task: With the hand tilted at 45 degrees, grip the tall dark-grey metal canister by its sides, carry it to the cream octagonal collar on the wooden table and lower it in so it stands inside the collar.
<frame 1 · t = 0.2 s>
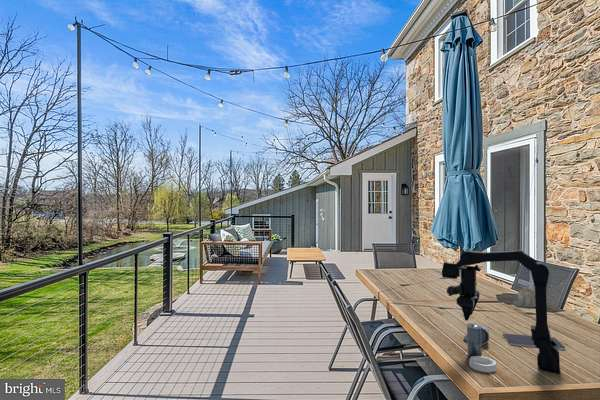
hand: (468, 317, 150), 15 cm above the table, tool pointing down, fingers open, 9 cm apart
ceramic cottage: (525, 304, 226), on the table
ceramic mug: (476, 342, 162), on the table
collar: (482, 367, 136), on the table
notebook: (532, 344, 161), on the table
canister: (474, 357, 144), on the table
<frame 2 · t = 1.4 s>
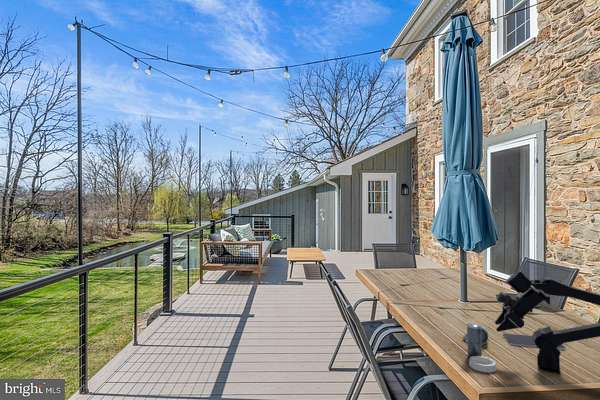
hand: (496, 327, 141), 13 cm above the table, tool tilted 45°, fingers open, 9 cm apart
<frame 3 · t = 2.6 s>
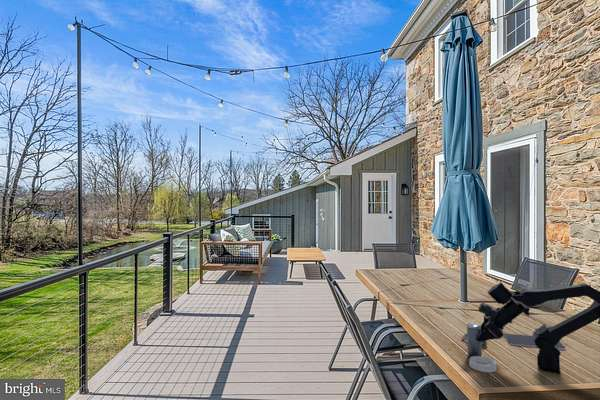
hand: (477, 336, 144), 9 cm above the table, tool tilted 45°, fingers open, 9 cm apart
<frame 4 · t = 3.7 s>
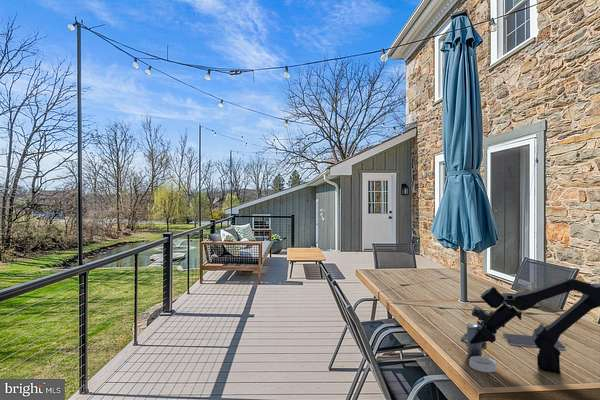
hand: (470, 340, 145), 7 cm above the table, tool tilted 45°, fingers closed on canister, 5 cm apart
canister: (474, 357, 144), on the table, touching gripper
everything else where it was.
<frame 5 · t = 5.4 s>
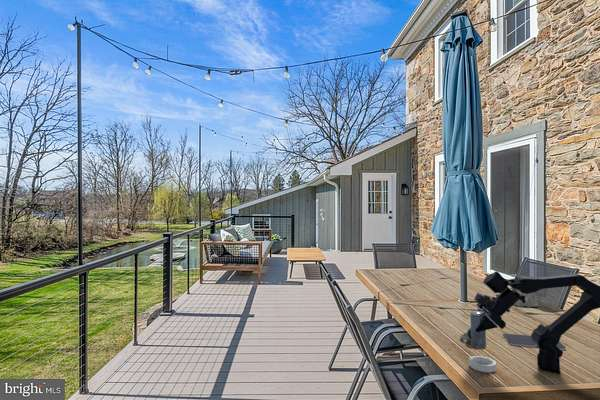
hand: (474, 328, 140), 13 cm above the table, tool tilted 45°, fingers closed on canister, 5 cm apart
canister: (478, 346, 139), point 7 cm above the table, touching gripper
when the fingers open (9 cm above the table, at t = 7.1 s): canister drops 2 cm, resting on collar.
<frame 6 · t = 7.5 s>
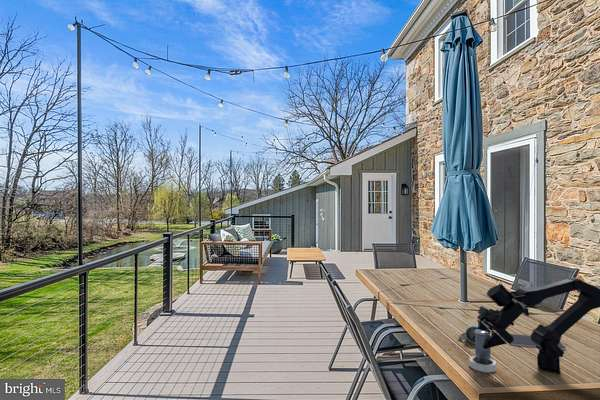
hand: (478, 343, 136), 9 cm above the table, tool tilted 45°, fingers open, 9 cm apart
canister: (483, 365, 136), resting on collar
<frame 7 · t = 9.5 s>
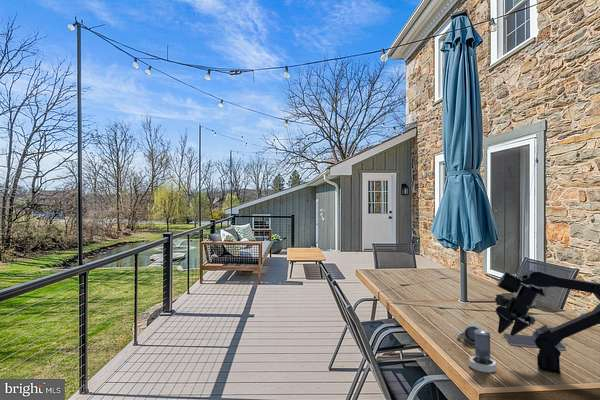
hand: (505, 334, 140), 11 cm above the table, tool tilted 25°, fingers open, 9 cm apart
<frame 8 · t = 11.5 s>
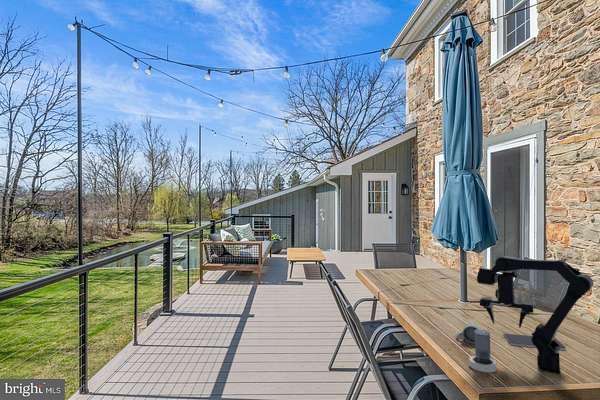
hand: (506, 325, 144), 13 cm above the table, tool pointing down, fingers open, 9 cm apart
at the end: canister 0.1 cm off-centre on the collar, point 0.4 cm above the collar's base; canister tilted 0°; the gripper is holding nothing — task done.
